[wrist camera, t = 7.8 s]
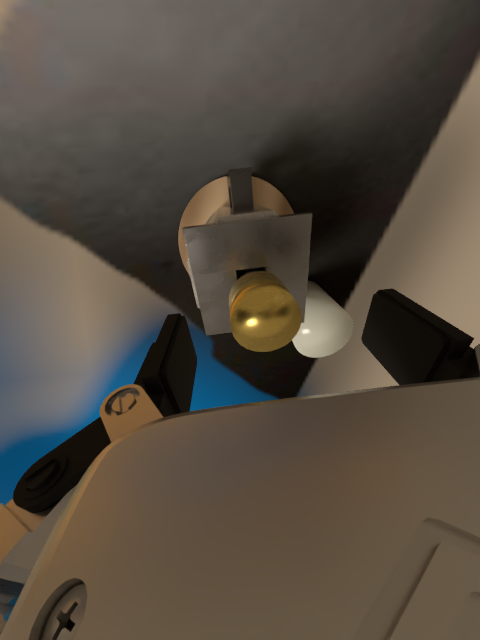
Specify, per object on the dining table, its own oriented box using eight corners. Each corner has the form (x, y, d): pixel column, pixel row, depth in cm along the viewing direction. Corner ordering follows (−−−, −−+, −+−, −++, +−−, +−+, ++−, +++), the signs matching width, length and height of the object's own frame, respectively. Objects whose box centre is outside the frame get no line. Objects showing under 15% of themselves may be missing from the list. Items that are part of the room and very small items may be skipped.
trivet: (299, 167, 25) (301, 167, 24) (294, 292, 33) (295, 293, 32) (163, 183, 24) (162, 183, 24) (193, 304, 33) (193, 306, 32)
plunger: (269, 213, 25) (344, 246, 10) (270, 274, 29) (325, 364, 14) (205, 221, 25) (182, 266, 10) (215, 281, 29) (210, 380, 14)
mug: (325, 277, 32) (358, 304, 24) (319, 327, 37) (345, 362, 29) (276, 283, 32) (294, 312, 24) (277, 332, 37) (292, 369, 29)
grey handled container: (277, 171, 24) (326, 155, 13) (277, 278, 31) (310, 327, 20) (187, 182, 24) (159, 174, 13) (208, 287, 31) (201, 341, 20)
